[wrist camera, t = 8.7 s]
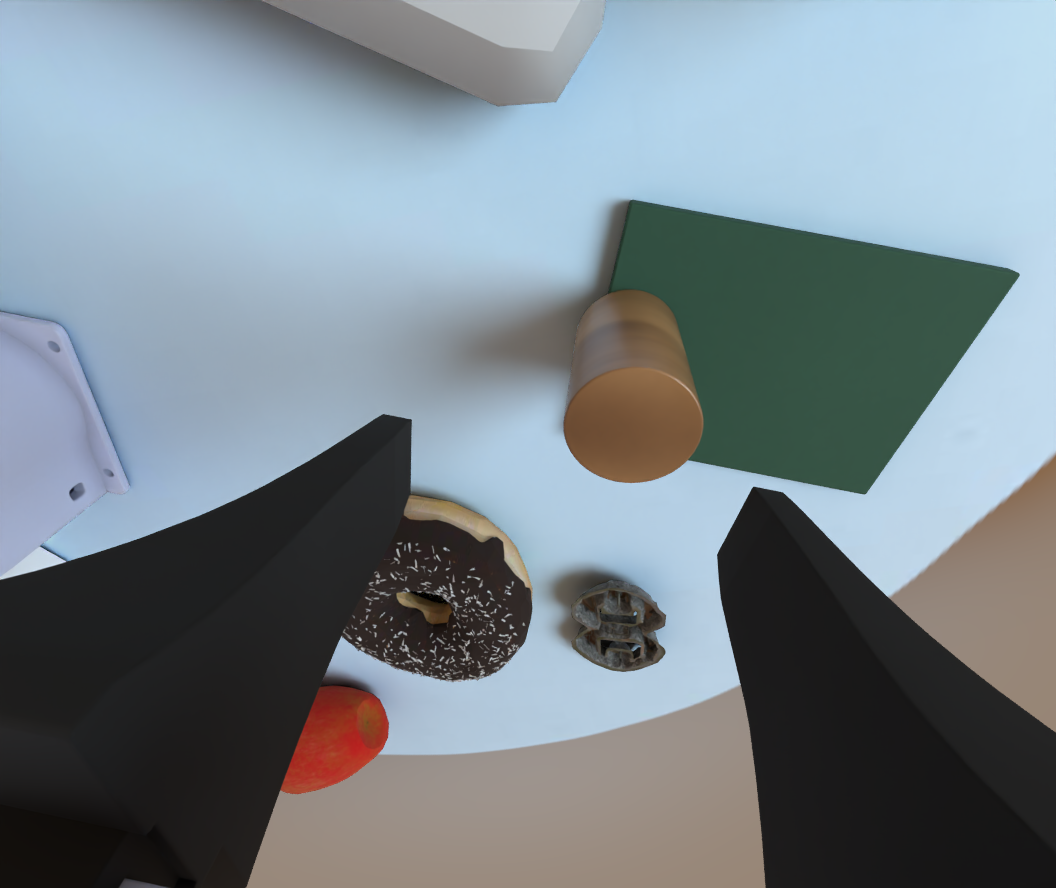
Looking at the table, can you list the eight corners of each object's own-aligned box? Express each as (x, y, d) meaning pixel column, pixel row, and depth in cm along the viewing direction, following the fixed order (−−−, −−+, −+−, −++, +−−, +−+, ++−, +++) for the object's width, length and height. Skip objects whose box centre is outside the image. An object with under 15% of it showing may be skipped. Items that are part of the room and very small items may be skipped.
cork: (661, 391, 19) (678, 494, 14) (567, 373, 19) (552, 469, 14) (692, 299, 17) (725, 383, 12) (587, 280, 17) (577, 355, 12)
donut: (490, 463, 23) (470, 525, 20) (566, 626, 29) (561, 694, 26) (293, 505, 26) (249, 563, 23) (398, 644, 32) (375, 706, 29)
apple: (342, 665, 32) (251, 693, 34) (338, 780, 29) (238, 804, 31) (401, 674, 37) (319, 698, 39) (404, 773, 34) (314, 794, 36)
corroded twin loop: (670, 574, 25) (671, 593, 24) (662, 660, 30) (663, 678, 29) (566, 568, 26) (564, 585, 25) (575, 652, 31) (574, 669, 30)
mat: (860, 486, 21) (866, 495, 21) (574, 430, 21) (574, 438, 21) (1009, 268, 16) (1022, 274, 15) (630, 198, 16) (630, 202, 16)
